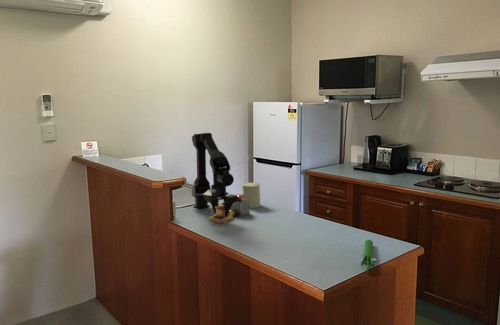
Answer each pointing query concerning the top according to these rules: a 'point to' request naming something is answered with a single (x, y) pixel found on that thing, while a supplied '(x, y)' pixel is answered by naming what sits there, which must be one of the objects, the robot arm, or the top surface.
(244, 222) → the top surface
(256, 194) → the can
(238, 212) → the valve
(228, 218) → the socket
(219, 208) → the stub
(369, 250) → the green onion
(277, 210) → the top surface
